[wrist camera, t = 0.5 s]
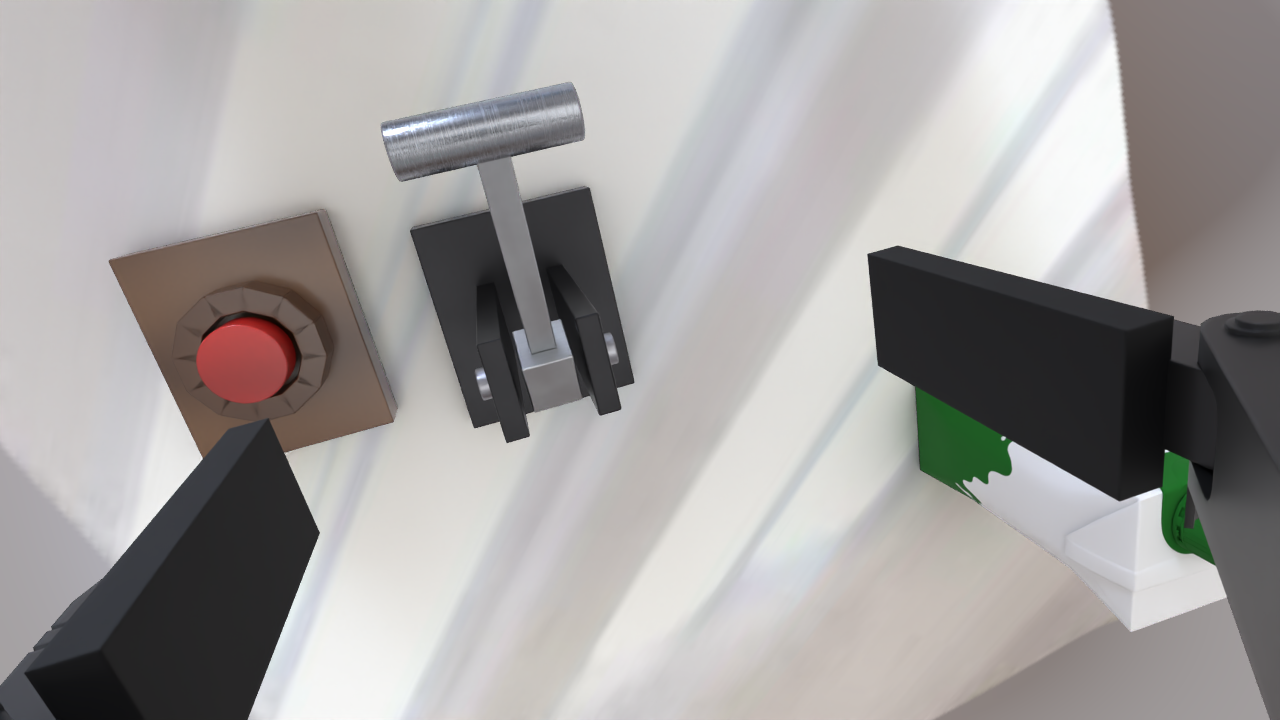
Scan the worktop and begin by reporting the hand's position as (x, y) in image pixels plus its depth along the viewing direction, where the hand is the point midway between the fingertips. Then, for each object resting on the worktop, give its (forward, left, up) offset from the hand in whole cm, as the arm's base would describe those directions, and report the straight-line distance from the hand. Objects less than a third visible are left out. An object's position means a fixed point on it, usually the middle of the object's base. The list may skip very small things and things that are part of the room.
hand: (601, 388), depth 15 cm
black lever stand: (+4, -1, -27) cm, 27 cm away
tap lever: (-1, -1, -13) cm, 13 cm away
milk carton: (+20, +27, -27) cm, 43 cm away
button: (+2, -15, -23) cm, 28 cm away
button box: (+2, -15, -27) cm, 31 cm away
